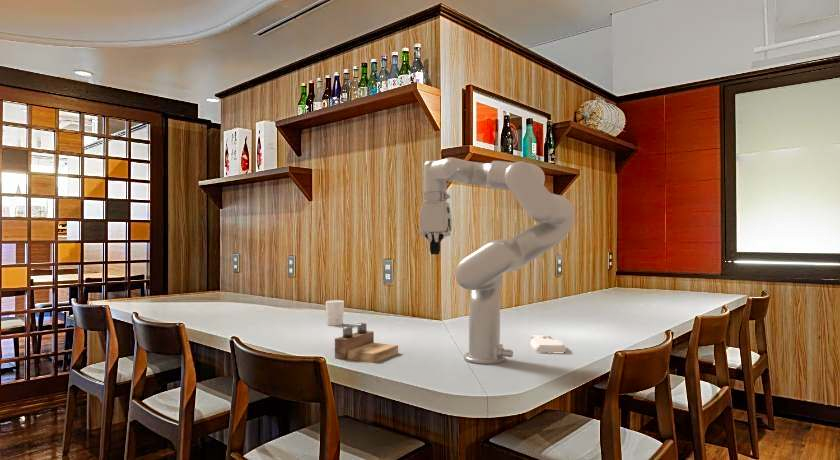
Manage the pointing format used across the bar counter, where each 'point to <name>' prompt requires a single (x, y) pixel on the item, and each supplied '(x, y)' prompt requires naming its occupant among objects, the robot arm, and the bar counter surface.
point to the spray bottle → (546, 344)
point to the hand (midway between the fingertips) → (435, 254)
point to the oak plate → (372, 352)
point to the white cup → (334, 312)
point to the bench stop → (352, 340)
